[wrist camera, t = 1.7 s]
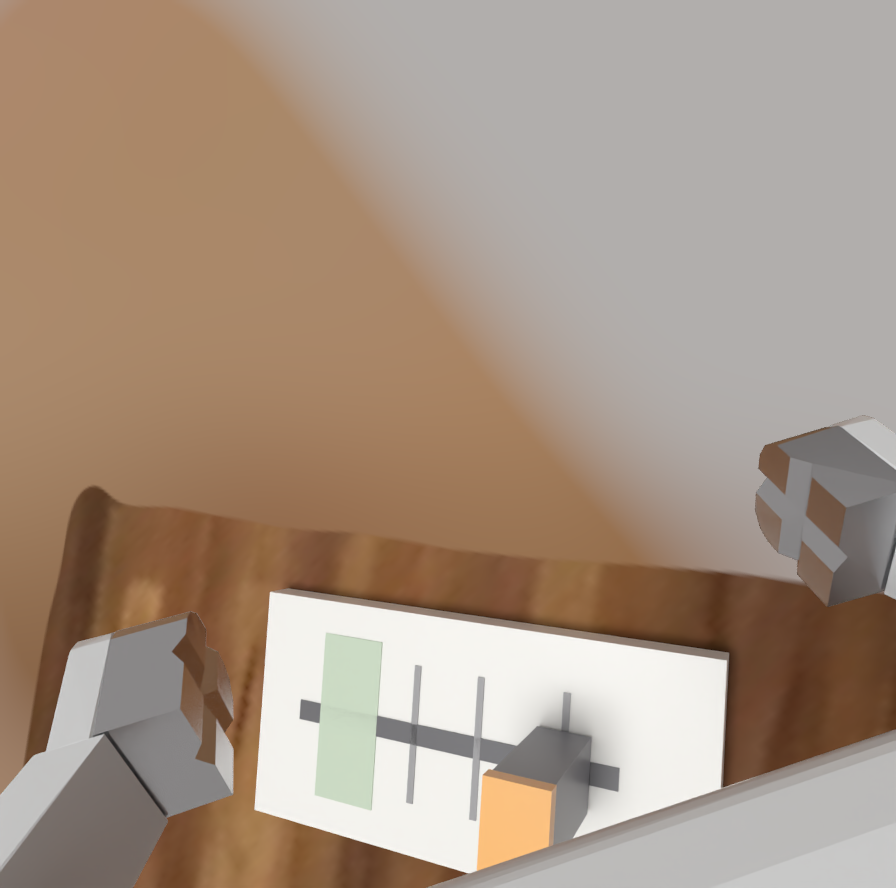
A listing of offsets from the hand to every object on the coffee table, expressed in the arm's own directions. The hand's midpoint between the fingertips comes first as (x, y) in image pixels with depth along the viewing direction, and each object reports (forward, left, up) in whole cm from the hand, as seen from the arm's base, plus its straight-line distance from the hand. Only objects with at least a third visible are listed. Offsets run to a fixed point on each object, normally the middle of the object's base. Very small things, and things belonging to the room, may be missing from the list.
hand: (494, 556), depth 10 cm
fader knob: (+6, +14, -30) cm, 34 cm away
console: (+12, +14, -33) cm, 38 cm away
